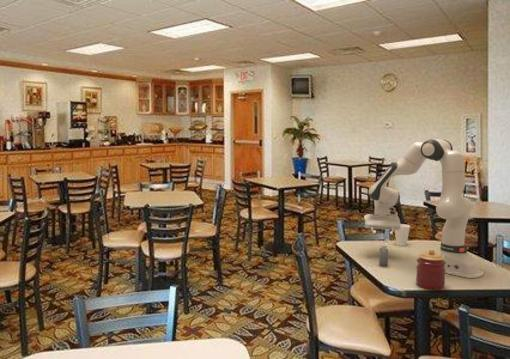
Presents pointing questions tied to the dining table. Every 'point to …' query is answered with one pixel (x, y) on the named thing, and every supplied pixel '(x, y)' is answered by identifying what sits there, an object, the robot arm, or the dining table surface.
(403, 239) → the foam cup
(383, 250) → the connector casing
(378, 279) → the dining table surface
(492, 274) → the dining table surface
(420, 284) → the canister
